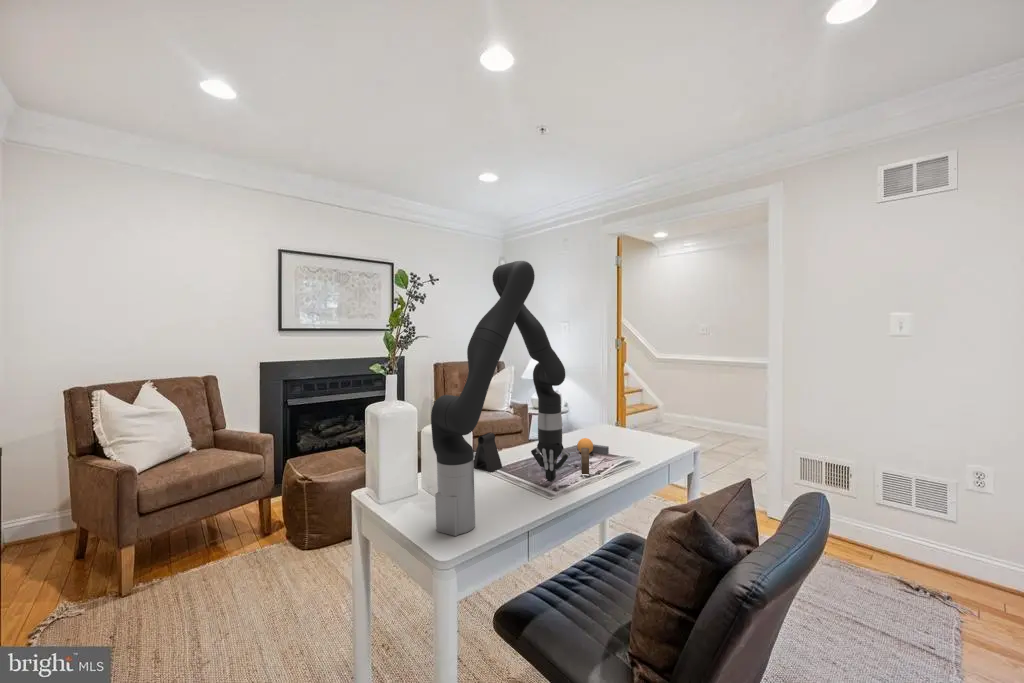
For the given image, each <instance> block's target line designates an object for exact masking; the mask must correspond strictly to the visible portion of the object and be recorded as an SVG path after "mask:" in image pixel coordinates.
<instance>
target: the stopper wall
mask: <svg viewBox="0 0 1024 683" xmlns="http://www.w3.org/2000/svg"><path fill="white" fill-rule="evenodd" d="M576 448H577V451H579V450H578V443H577V447H576ZM594 452H598V453H597V454H601V453H603V455H608V454H609V446H608V445H599V444H594V443H593V450H592V452H591V453H594Z"/></svg>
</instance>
